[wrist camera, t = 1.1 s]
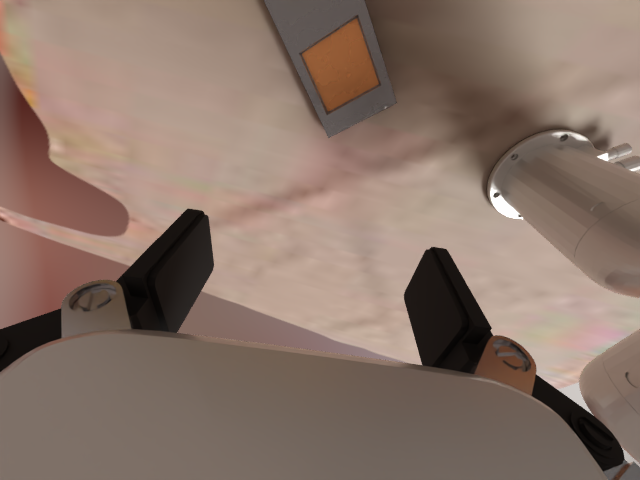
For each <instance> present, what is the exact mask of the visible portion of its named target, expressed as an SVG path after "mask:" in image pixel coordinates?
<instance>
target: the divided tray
mask: <svg viewBox="0 0 640 480" xmlns="http://www.w3.org/2000/svg"><path fill="white" fill-rule="evenodd" d="M264 2H265V4H266V6H267V8H268V10H269V12H270V15H271V17H272V19H273V21H274V23H275V25H276V27H277V29H278V32H279V34H280V36H281V38H282V40H283V42H284V44H285V46H286V49H287V51H288V53H289V55H290V57H291V59H292V61H293V63H294V66H295V68H296V70H297V72H298V74H299V76H300V78H301V80H302V83H303V85H304V87H305V89H306V91H307V93H308V95H309V97H310V100H311V102H312V104H313V106H314V108H315V110H316V112H317V114H318V117H319V119H320V121H321V123H322V125H323V127H324V129H325V131H326V134H327V136H328V138H330V137H331V136H333V135H335V134H337V133H339V132H341V131H343V130H345V129H347V128H349V127H351V126H353V125H355V124H357V123H359V122H361V121H363V120H365V119H367V118H368V117H370V116H372V115H374V114H376V113H378V112H380V111H382V110H384V109H386V108H388V107H390V106H392V105H394V104H396V103H397V102H396V99H395V95H394V92H393V89H392V86H391V83H390V79H389V76H388V73H387V70H386V67H385V64H384V60H383V57H382V54H381V51H380V48H379V45H378V41H377V38H376V35H375V32H374V29H373V25H372V22H371V19H370V16H369V13H368V10H367V6H366V3H365V0H264Z"/></svg>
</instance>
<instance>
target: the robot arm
mask: <svg viewBox="0 0 640 480" xmlns="http://www.w3.org/2000/svg"><path fill="white" fill-rule="evenodd" d="M631 151H632V147H631V146H630V145H629V144H628V143H624V144H622V145H619V146H616V147H613V148H611V149H609V150H606V151H603V150H597V149H595V148H594V146H593V144H592V142H591V141H590V140H589V139H588V138H587V137H585V136H583V135H581V134H579V133H576V132H573V131H569V130H561V129H560V130H549V131H545V132H541V133H538V134H535V135H533V136H530V137H528V138H526V139H524V140H523V141H521V142H519V143H518V144H516V145H515V146H514V147H512V148H511V149H510V150H508V151H507V152H506V153H505V154H504V155H503V156H502V157H501V159H500V160H499V161H498V162H497V164H496V165H495V167H494V169H493V170H492V172H491V174H490V177H489V180H488V185H487V195H488V198H489V201H490V203H491V204H492V206H493V207H494V208H495V209H496V210H497V211H498V212H499V213H501V214H503V215H504V216H507V217H510V218H515V219H525V220H526V221H527V222H528V223H529V224H530V225H531V226H532V227H533V228H534V229H536V230H537V231H538V232H539V233H540V234H541V235H542V236H543V237H544V238H545V239H547V240H548V241H549V242H550V243H551V244H552V245H553V246H554V247H555V248H556V249H558V250H559V251H560V252H561V253H562V254H563V255H564V256H565V257H566V258H568V259H569V260H570V261H571V262H572V263H573V264H574V265H575V266H576V267H577V268H579V269H580V270H581V271H582V272H583V273H584V274H585V275H587V276H588V277H589V278H590V279H591V280H593V281H594V282H595V283H597V284H598V285H600V286H602V287H604V288H606V289H608V290H610V291H613V292H615V293H618V294H622V295H626V296H630V297H634V298H640V174H638V173H636V172H637V171H640V157H639V156H632V157H629V158H626V159H624V160H621V161H618V162H615V163H614V164H613V163H610V162H608V161H609V160H611V159H614V158H615V159H616V158H619V157H622V156H625V155H628V154H630V153H631ZM213 267H214V261H213V252H212V243H211V235H210V226H209V218H208V216H207V215H205V214H204V212H203V211H200V210H194V209H187V210H186V211H185V212H184V213H183V214H182V215H181V216H180V217H179V218H178V219H177V220H176V221H175V222H174V223H173V224H172V225H171V226H170V227H169V228H168V229H167V230H166V231H165V232H164V233H163V234H162V235H161V236H160V237H159V238H158V239H157V240H156V241H155V242H154V243H153V244H152V245H151V246H150V247H149V248H148V249H147V250H146V251H145V252H144V253H143V254H142V255H141V256H140V257H139V258H138V259H137V260H136V261H135V262H134V263H133V264H132V266H131V267H130V268H129V269H128V270H127V271H126V272H125V273H124V274H123V275H122V276H121V277H120V278H119V279H118V280H117V281H116V282H115V281H111V280H98V281H92V282H89V283H86V284H83V285H81V286H79V287H77V288H76V289H74V290H73V291H72V292H70V293H69V294H68V295H67V296H66V297H65V298H64V300H63V302H62V306H61V309H58V310H55V311H53V312H50V313H47V314H44V315H41V316H38V317H35V318H32V319H29V320H26V321H23V322H21V323H18V324H15V325H12V326H9V327H6V328H3V329H0V480H640V467H639V466H638V465H637V464H636V463H635V462H631V463H627V461H626V460H625V459H624V454H623V450H622V448H624V450H626V451H627V452H628V453H629V454H630V455H631V456H632V457H633V458H634V459H635V460H637V461H638V462H639V463H640V329H639V330H638V331H636V332H634V333H633V334H631V335H630V336H628V337H626V338H625V339H623V340H622V341H620V342H619V343H617V344H615V345H614V346H612V347H611V348H609V349H607V350H606V351H605V352H603V353H602V354H600V355H599V356H597V357H596V358H595V359H593V360H592V361H591V362H589V363H588V364H587V365H586V366H585V368H584V369H583V371H582V373H581V375H580V380H579V385H580V391H581V394H582V396H583V399H584V401H585V403H586V404H587V406H588V408H589V409H590V411H591V413H592V414H593V415H594V416H593V415H592V414H590V413H589V412H587V411H586V410H585V409H583V408H582V407H581V406H579V405H578V404H577V403H575V402H574V401H572V400H571V399H570V398H568V397H567V396H565V395H564V394H563V393H561V392H560V391H558V390H557V389H556V388H554V387H553V386H551V385H550V384H549V383H547V382H546V381H544V380H543V379H542V378H540V377H539V376H538V375H536V364H535V362H534V359H533V358H532V357H531V355H530V354H529V353H528V352H527V351H526V350H525V349H524V348H523V347H522V346H521V345H520V344H518V343H517V342H515V341H514V340H512V339H510V338H507V337H504V336H498V335H495V336H493V335H492V333H491V331H490V330H491V329H492V328H491V326H490V325H489V323H488V321H487V319H486V317H485V316H484V314H483V312H482V310H481V309H480V307H479V305H478V303H477V302H476V300H475V298H474V296H473V295H472V293H471V291H470V289H469V288H468V286H467V284H466V282H465V280H464V279H463V277H462V275H461V273H460V272H459V270H458V268H457V266H456V265H455V263H454V261H453V259H452V258H451V256H450V254H449V252H448V251H447V249H443V248H436V247H431V248H430V249H429V250H426V251H425V253H424V255H423V257H422V259H421V261H420V263H419V265H418V267H417V269H416V271H415V273H414V275H413V277H412V279H411V281H410V283H409V285H408V287H407V289H406V291H405V294H404V300H405V304H406V308H407V311H408V315H409V318H410V322H411V326H412V329H413V333H414V337H415V340H416V344H417V347H418V351H419V355H420V358H421V362H422V365H423V366H422V365H416V364H409V363H402V362H395V361H387V360H381V359H373V358H366V357H359V356H352V355H344V354H337V353H330V352H322V351H315V350H308V349H300V348H292V347H285V346H277V345H270V344H263V343H255V342H247V341H239V340H232V339H223V338H216V337H208V336H200V335H191V334H182V333H177V332H178V330H179V328H180V327H181V325H182V323H183V321H184V320H185V318H186V316H187V314H188V313H189V311H190V309H191V307H192V306H193V304H194V302H195V300H196V299H197V297H198V295H199V294H200V292H201V290H202V288H203V287H204V285H205V283H206V281H207V280H208V278H209V276H210V274H211V273H212V271H213ZM621 447H622V448H621Z"/></svg>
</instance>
